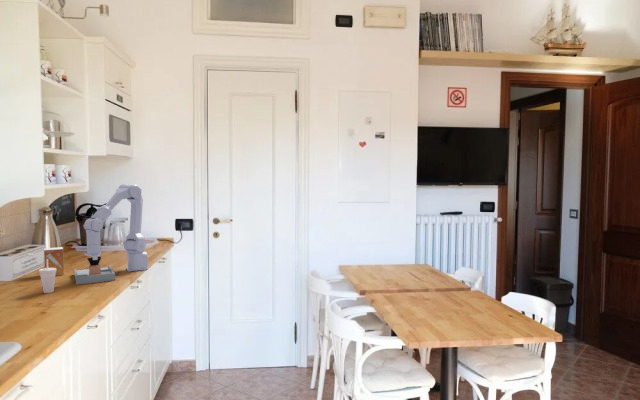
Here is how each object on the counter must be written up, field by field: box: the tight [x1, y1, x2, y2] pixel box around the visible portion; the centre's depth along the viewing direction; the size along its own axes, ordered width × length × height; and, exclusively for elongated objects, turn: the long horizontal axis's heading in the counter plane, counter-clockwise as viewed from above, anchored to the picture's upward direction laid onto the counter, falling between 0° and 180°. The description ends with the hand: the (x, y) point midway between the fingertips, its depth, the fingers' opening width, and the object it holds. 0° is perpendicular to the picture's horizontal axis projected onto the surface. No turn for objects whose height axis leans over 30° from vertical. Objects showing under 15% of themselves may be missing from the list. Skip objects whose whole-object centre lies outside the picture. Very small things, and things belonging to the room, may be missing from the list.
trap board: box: [73, 265, 116, 285], centre depth 211 cm, size 16×22×3 cm
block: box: [88, 264, 102, 275], centre depth 206 cm, size 4×4×4 cm
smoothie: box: [38, 259, 57, 294], centre depth 186 cm, size 6×6×14 cm
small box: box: [43, 246, 65, 277], centre depth 216 cm, size 8×6×13 cm
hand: (94, 272), depth 208 cm, fingers closed, pressing on block
